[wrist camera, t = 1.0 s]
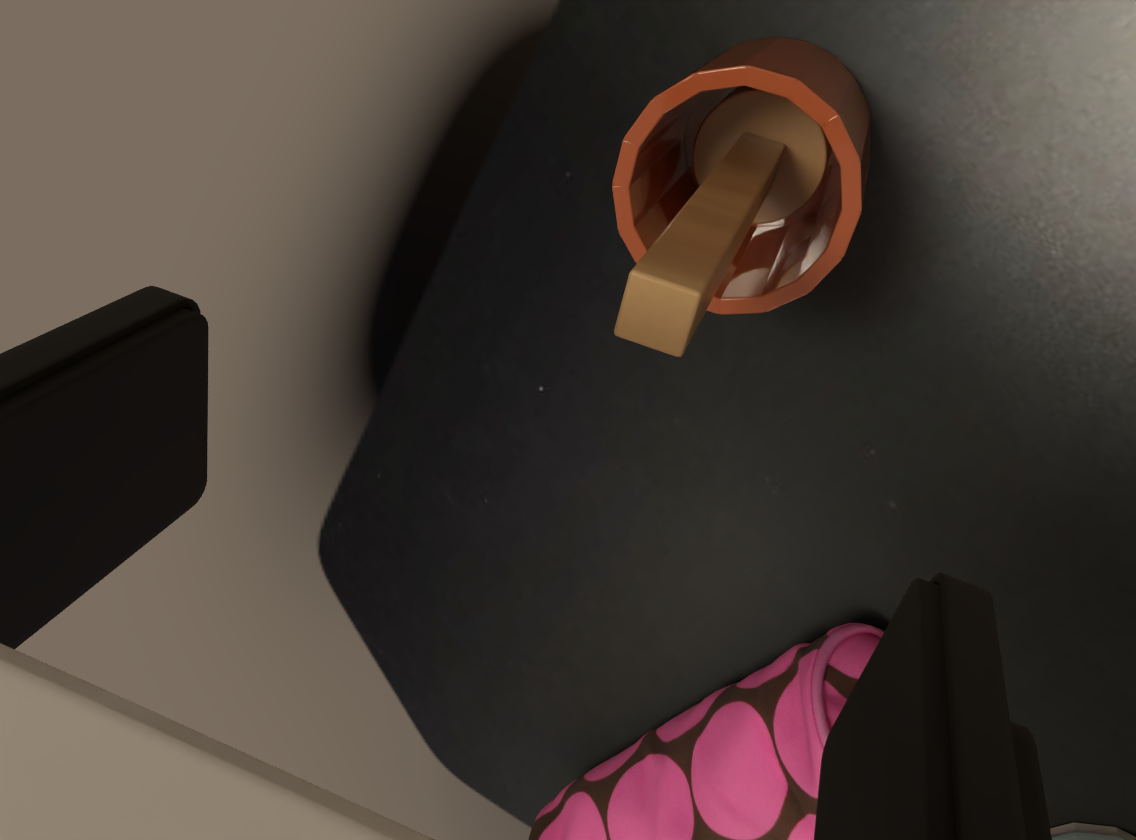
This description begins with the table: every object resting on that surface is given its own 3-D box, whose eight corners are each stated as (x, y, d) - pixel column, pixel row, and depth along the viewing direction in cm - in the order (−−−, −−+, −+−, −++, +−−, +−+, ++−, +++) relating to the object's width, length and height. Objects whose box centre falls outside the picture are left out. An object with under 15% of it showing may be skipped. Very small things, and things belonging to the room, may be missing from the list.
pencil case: (684, 880, 50) (639, 1071, 42) (548, 771, 49) (475, 943, 41) (1003, 703, 38) (1031, 918, 30) (830, 558, 38) (809, 736, 29)
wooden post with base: (727, 62, 30) (575, 173, 16) (851, 98, 29) (804, 245, 15) (690, 185, 32) (530, 374, 18) (806, 221, 31) (729, 445, 18)
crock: (705, 13, 30) (647, 35, 23) (903, 68, 29) (903, 109, 22) (653, 204, 33) (590, 272, 27) (829, 259, 32) (808, 345, 26)
